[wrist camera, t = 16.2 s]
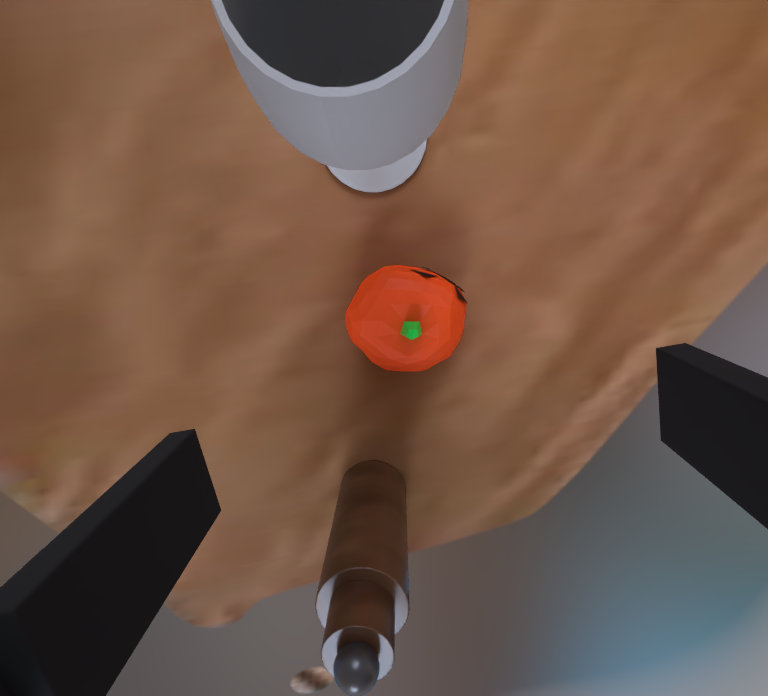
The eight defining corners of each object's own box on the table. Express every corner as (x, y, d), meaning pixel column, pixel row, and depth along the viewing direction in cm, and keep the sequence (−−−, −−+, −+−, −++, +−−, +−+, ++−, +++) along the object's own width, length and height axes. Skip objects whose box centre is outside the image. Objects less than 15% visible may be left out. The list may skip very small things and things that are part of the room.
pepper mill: (374, 447, 36) (355, 623, 20) (419, 491, 37) (435, 694, 21) (327, 487, 37) (273, 685, 21) (372, 529, 38) (353, 750, 22)
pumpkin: (349, 261, 33) (338, 268, 27) (463, 265, 33) (478, 273, 26) (348, 359, 35) (337, 387, 28) (456, 363, 35) (469, 392, 28)
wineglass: (437, 78, 30) (532, -243, 10) (421, 202, 32) (471, 155, 11) (320, 63, 30) (162, -292, 9) (311, 188, 32) (163, 116, 11)
